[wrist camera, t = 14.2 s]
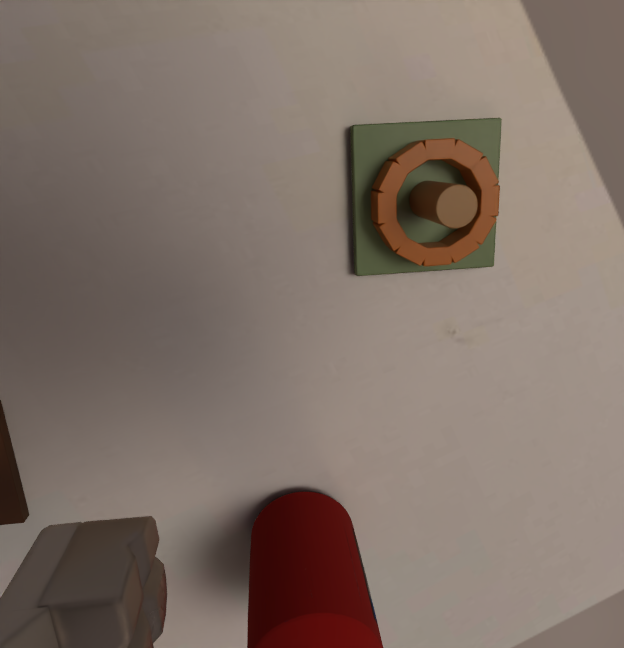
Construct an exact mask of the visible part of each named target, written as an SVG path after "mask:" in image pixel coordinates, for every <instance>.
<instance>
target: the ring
mask: <svg viewBox="0 0 624 648" xmlns="http://www.w3.org/2000/svg"><path fill="white" fill-rule="evenodd" d="M388 160H389V161H385V163H384V165H383V167H382V169H381V170H380V172H379V174H378V176H377V178H376V180H375V182H374V184H373V186H372V189H374V190H376V191H371V220H373V221H374V222H373V225H374V227H375V228H376V230H377V232H378V233H379V235H380V237H381V238H382V240H383V242H384V243H385V245H386V246H387V247H389V249H390V250H392V251H393V252H395V253H396V254H398V255H400V256H402V257H404V258H406V259H407V260H409V261H411V262H413V263H415V264H417V265H419V266H421V265H423V266H439V265H450V264H451V263H452V262H453V263H457V262H458V261H460V260H461V259H463V258H464V257H466V256H467V255H469V254H471V253H472V252H474V251H475V250H477V249H478V248H479V245H478V244H480V245H482V244H483V242H484V240H485V239H486V237H487V235H488V234H489V232H490V230H491V228H492V227H493V225H494V223H495V222H496V218H495V217H493V216H498V210H499V191H500V186H499V185H496V184H497V183H499V181H498V179H497V177H496V175H495V173H494V171H493V169H492V167H491V165H490V163H489V161H488V159H487V157H486V156H483V153H482V152H480V151H478V150H477V149H475V148H473V147H472V146H470V145H468V144H466V143H465V142H463V141H461V140H459V139H455V138H445V139H427V140H418V141H416V142H411V143H410V144H408V145H407V146H406V147H404V148H403V149H401V150H400V151H398V152H397V153H395V154H394V155H392V156H391V157H389V158H388ZM428 160H443V161H444V162H446V163H448V164H450V165H451V166H453V167H455V168H457V169H459V171H460V173H461V175H462V177H463V179H464V180H465V182H466V184H467V186H468V187H469V188H470V189H471V190H472V191H473V192H474V193H475V195H476V197H477V202H478V207H477V212H476V214H475V216H474V218H473V219H472V221H471V222H470V223H468V224H467V225H465V226H464V227H461V228H458V229H457V230H456V231H454V232H453V233H451V234H450V235H448V236H447V237H445V238H444V239H442V240H441V241H439V242H427V243H417V242H415V241H413V240H411V239H409V238H408V237H407V235H406V234H405V232H404V230H403V229H402V227H401V225H400V223H399V222H398V220H397V194H398V192H399V190H400V188H401V186H402V184H403V182H404V181H405V179H406V177H407V175H408V174H409V173H410V172H412V171H413V170H415V169H416V168H417V167H419V166H420V165H422V164H423V163H425V162H426V161H428Z"/></svg>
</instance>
